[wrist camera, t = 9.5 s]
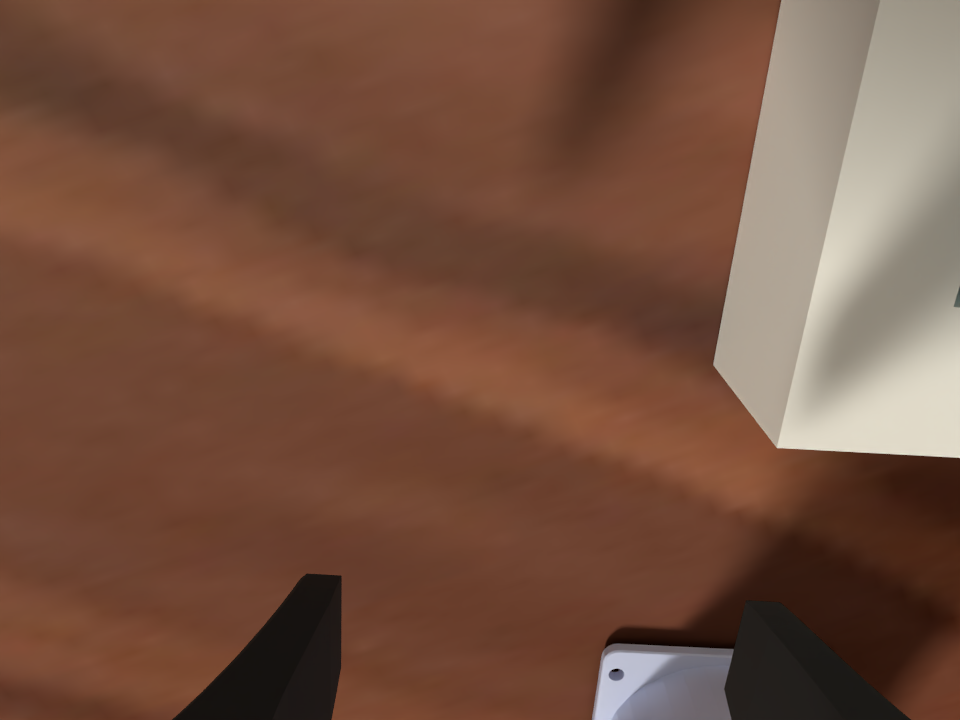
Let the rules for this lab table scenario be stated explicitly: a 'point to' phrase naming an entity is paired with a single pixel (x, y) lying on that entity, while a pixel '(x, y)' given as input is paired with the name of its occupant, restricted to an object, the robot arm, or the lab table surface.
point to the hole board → (853, 233)
